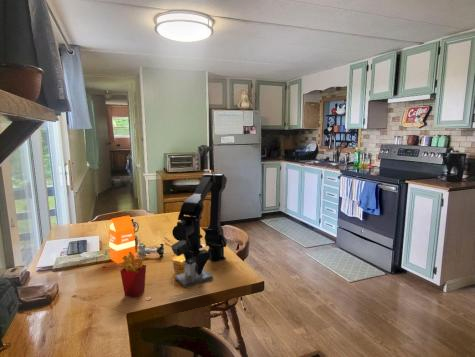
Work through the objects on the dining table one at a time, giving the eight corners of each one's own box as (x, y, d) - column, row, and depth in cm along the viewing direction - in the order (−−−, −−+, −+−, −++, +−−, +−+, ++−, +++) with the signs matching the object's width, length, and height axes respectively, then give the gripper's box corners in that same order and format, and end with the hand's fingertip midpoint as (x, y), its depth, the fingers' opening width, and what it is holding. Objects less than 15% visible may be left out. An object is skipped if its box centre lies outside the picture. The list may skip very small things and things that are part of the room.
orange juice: (136, 258, 142) (133, 216, 139) (117, 263, 135) (115, 220, 133) (127, 253, 147) (125, 213, 145) (110, 259, 141) (107, 217, 138)
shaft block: (202, 271, 127) (201, 257, 127) (212, 279, 120) (212, 264, 119) (175, 278, 121) (174, 264, 120) (184, 287, 113) (184, 272, 112)
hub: (197, 270, 125) (197, 256, 124) (205, 276, 119) (205, 261, 118) (182, 274, 121) (182, 260, 120) (189, 280, 115) (189, 266, 115)
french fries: (148, 290, 111) (146, 251, 110) (135, 301, 103) (133, 260, 102) (126, 287, 113) (124, 249, 111) (113, 298, 105) (110, 257, 104)
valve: (135, 260, 139) (161, 259, 140) (134, 246, 138) (161, 246, 139) (139, 255, 146) (164, 254, 146) (138, 242, 145) (163, 241, 145)
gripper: (164, 230, 121) (165, 267, 123) (183, 243, 106) (185, 285, 108) (189, 225, 127) (190, 261, 129) (211, 237, 112) (212, 277, 114)
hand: (193, 270), depth 120 cm, fingers open, 9 cm apart
